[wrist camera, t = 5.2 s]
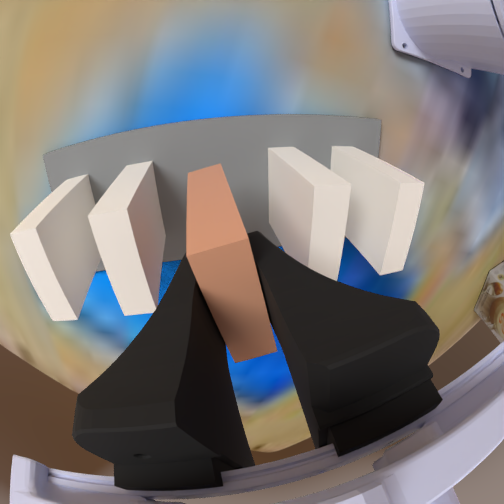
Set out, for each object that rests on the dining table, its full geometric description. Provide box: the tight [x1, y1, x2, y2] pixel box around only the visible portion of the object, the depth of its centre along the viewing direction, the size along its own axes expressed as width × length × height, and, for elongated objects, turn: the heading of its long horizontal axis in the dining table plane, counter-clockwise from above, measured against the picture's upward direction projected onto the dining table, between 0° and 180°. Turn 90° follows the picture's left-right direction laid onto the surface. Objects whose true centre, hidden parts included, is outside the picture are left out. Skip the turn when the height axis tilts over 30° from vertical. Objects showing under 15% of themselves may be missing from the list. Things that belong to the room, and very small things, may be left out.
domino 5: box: [330, 146, 424, 275], centre depth 15 cm, size 2×5×7 cm, turn 3°
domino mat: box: [43, 114, 381, 271], centre depth 17 cm, size 22×9×1 cm, turn 92°
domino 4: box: [268, 147, 351, 281], centre depth 14 cm, size 2×5×7 cm, turn 2°
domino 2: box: [88, 161, 166, 316], centre depth 13 cm, size 2×5×7 cm, turn 2°
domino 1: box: [10, 174, 101, 321], centre depth 13 cm, size 2×5×7 cm, turn 2°
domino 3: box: [186, 163, 277, 363], centre depth 11 cm, size 2×5×7 cm, turn 13°
